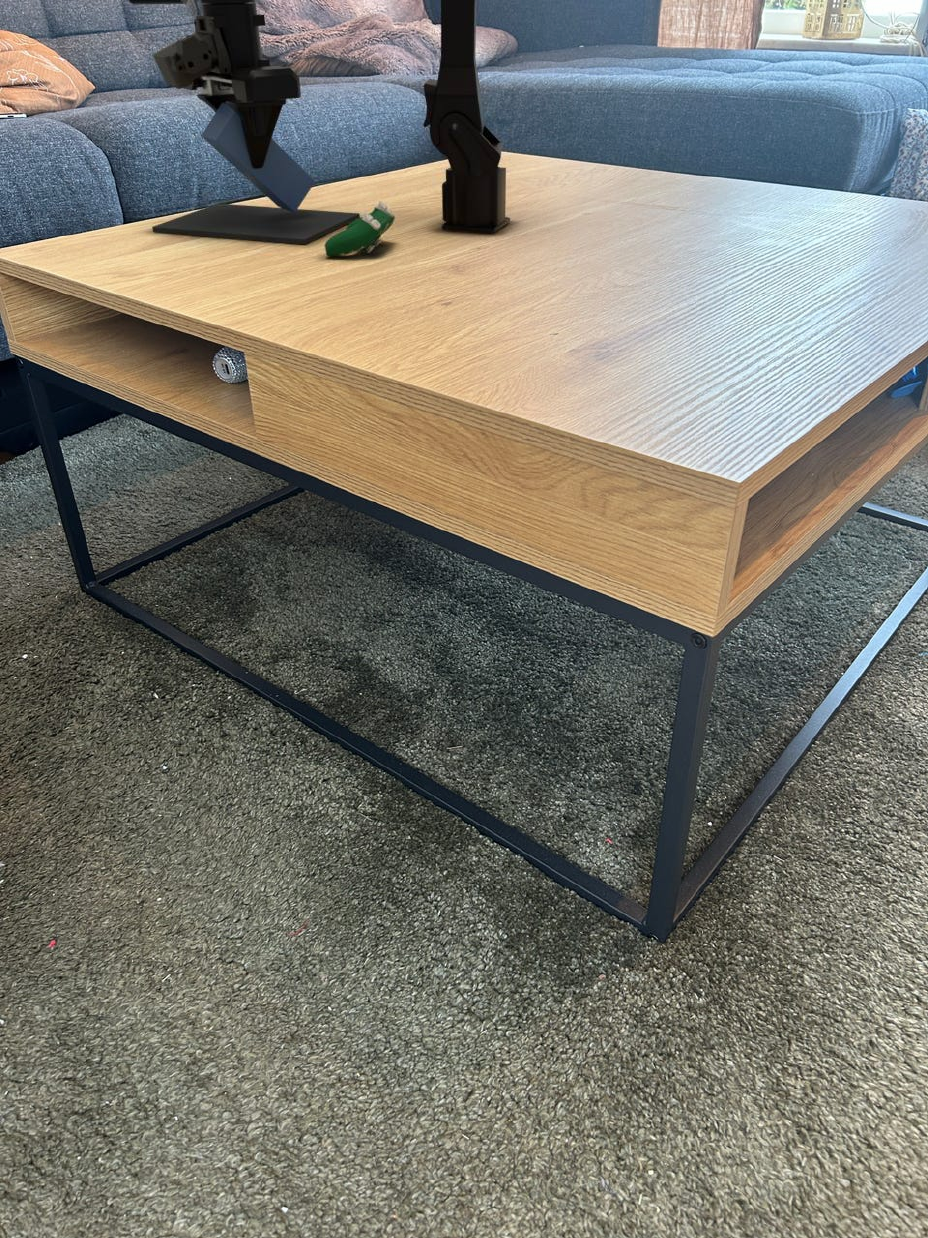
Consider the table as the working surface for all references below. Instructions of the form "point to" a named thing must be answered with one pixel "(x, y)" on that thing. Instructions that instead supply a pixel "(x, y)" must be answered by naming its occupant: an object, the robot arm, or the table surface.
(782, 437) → the table surface
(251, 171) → the blue block
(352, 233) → the green toy shoe
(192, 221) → the mat
